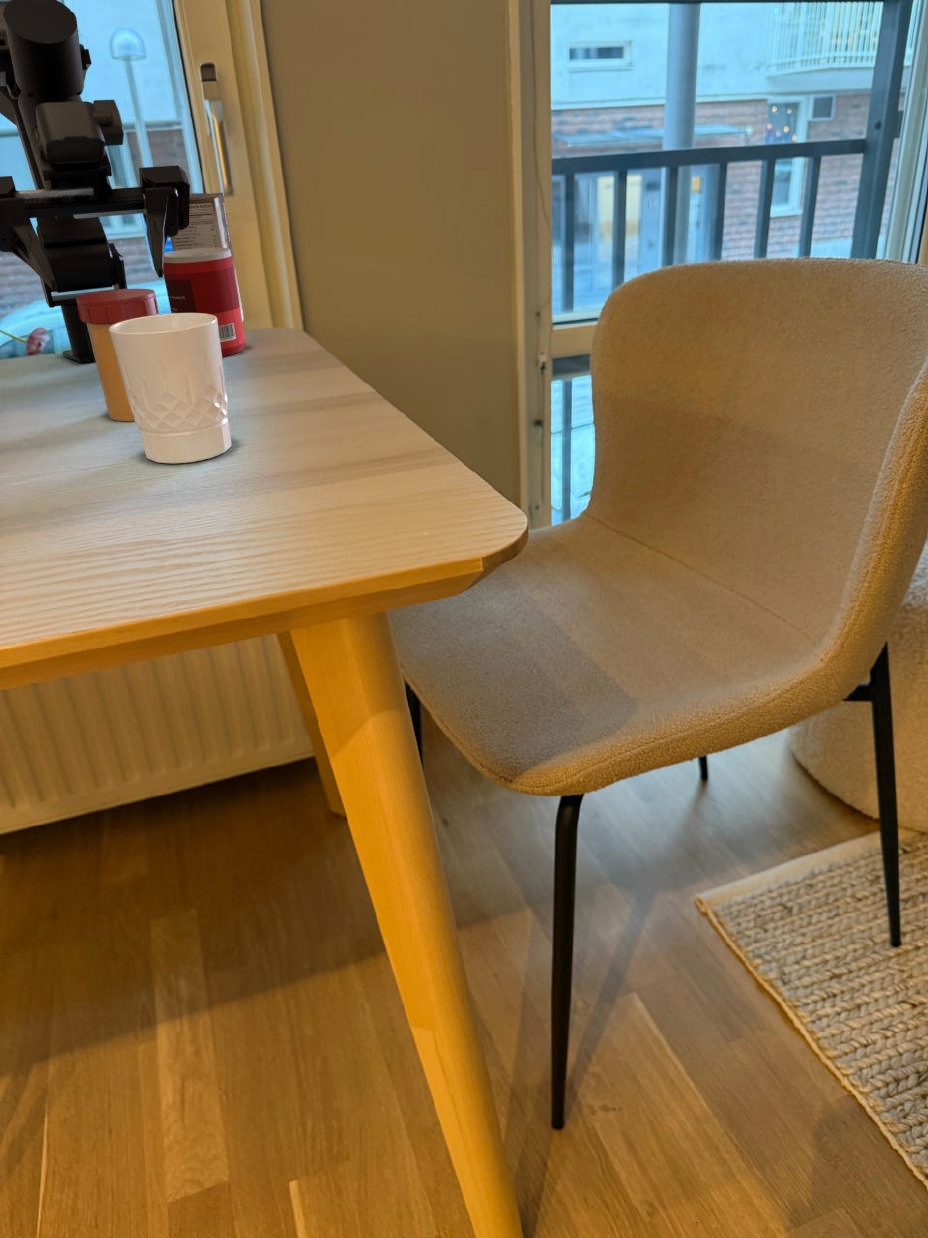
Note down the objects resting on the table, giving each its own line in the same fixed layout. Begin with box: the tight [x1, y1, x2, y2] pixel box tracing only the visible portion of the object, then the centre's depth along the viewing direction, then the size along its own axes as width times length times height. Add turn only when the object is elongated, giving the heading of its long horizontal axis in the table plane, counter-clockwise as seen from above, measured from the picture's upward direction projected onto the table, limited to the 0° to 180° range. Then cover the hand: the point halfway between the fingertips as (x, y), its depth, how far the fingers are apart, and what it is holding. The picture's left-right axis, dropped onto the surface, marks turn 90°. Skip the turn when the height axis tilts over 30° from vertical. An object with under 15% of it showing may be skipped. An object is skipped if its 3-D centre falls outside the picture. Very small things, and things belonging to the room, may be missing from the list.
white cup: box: [109, 313, 232, 464], centre depth 70 cm, size 8×8×10 cm
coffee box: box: [169, 192, 245, 323], centre depth 115 cm, size 9×6×16 cm
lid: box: [76, 288, 160, 324], centre depth 79 cm, size 6×6×2 cm
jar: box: [87, 323, 135, 422], centre depth 81 cm, size 6×6×10 cm
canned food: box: [163, 248, 246, 358], centre depth 103 cm, size 8×8×11 cm
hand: (108, 279), depth 80 cm, fingers open, 9 cm apart
